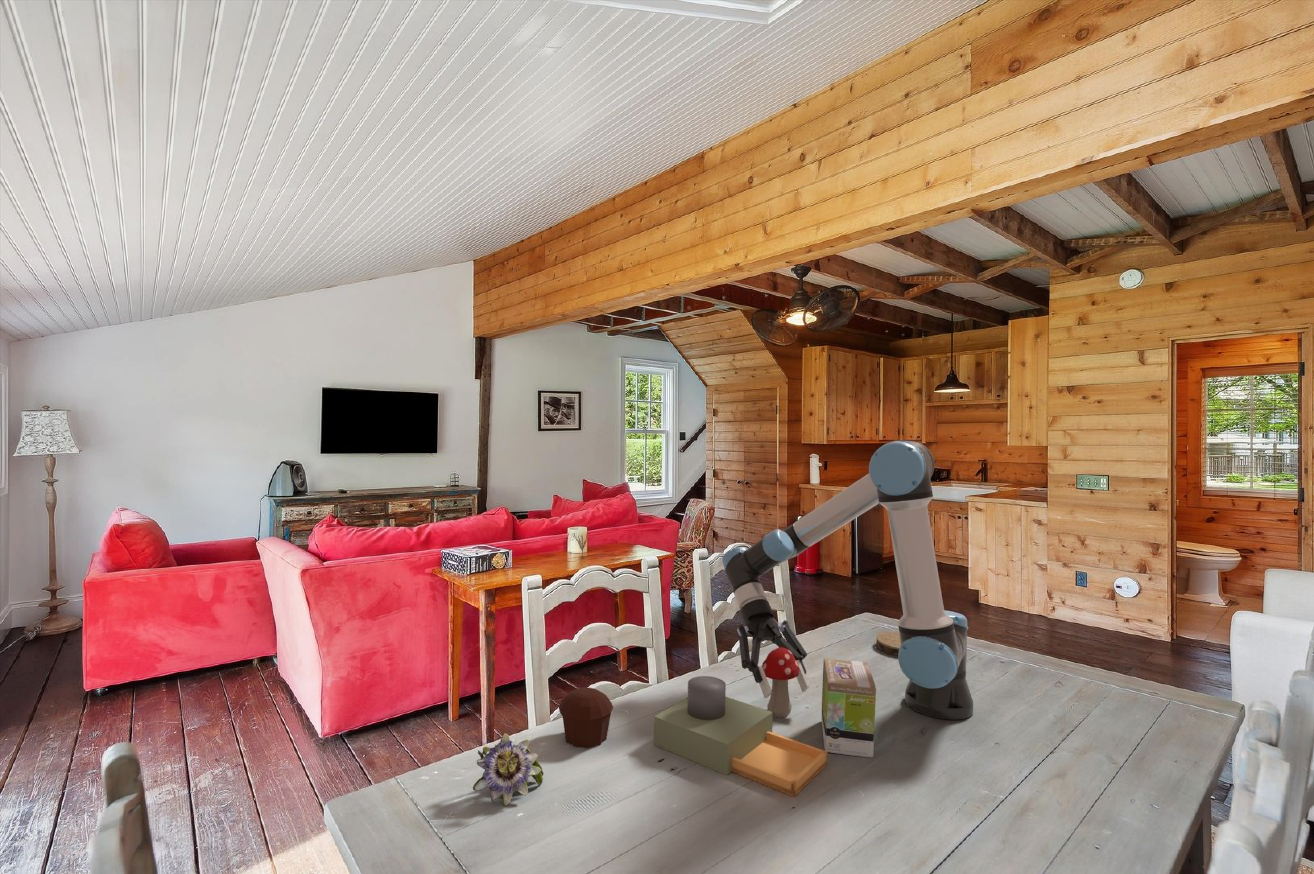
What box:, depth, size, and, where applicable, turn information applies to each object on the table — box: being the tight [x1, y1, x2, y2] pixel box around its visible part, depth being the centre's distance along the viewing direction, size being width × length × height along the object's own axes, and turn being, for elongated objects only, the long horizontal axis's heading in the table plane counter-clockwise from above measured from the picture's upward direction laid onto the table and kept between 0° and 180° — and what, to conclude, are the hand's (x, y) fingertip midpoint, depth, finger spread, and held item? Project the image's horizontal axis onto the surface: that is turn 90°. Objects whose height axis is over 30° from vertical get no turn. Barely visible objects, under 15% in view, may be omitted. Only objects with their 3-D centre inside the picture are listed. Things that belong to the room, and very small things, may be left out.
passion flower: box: [472, 732, 545, 807], centre depth 117 cm, size 11×11×12 cm
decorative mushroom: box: [761, 647, 800, 718], centre depth 150 cm, size 10×9×15 cm
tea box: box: [821, 657, 877, 758], centre depth 138 cm, size 15×10×15 cm, turn 168°
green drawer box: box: [653, 675, 829, 798], centre depth 131 cm, size 31×18×12 cm, turn 52°
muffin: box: [558, 687, 615, 749], centre depth 136 cm, size 12×11×10 cm
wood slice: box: [875, 631, 901, 658], centre depth 194 cm, size 16×16×3 cm
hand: (787, 692), depth 147 cm, fingers closed on decorative mushroom, 9 cm apart
